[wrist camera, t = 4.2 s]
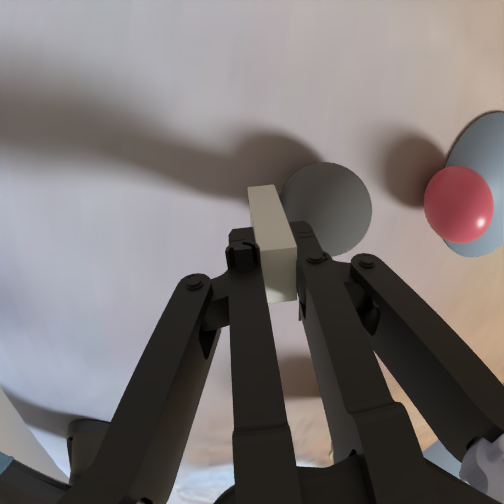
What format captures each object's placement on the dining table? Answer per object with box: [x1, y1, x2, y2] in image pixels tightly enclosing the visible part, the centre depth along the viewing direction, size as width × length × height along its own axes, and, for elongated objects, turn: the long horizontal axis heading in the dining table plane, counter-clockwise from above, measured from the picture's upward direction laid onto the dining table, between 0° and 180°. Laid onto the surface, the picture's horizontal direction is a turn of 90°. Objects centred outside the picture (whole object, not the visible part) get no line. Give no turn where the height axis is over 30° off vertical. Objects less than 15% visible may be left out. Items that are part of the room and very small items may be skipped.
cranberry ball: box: [424, 166, 494, 244], centre depth 18 cm, size 6×6×6 cm
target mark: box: [444, 112, 504, 257], centre depth 21 cm, size 14×14×1 cm
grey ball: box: [279, 162, 372, 256], centre depth 18 cm, size 6×6×6 cm
